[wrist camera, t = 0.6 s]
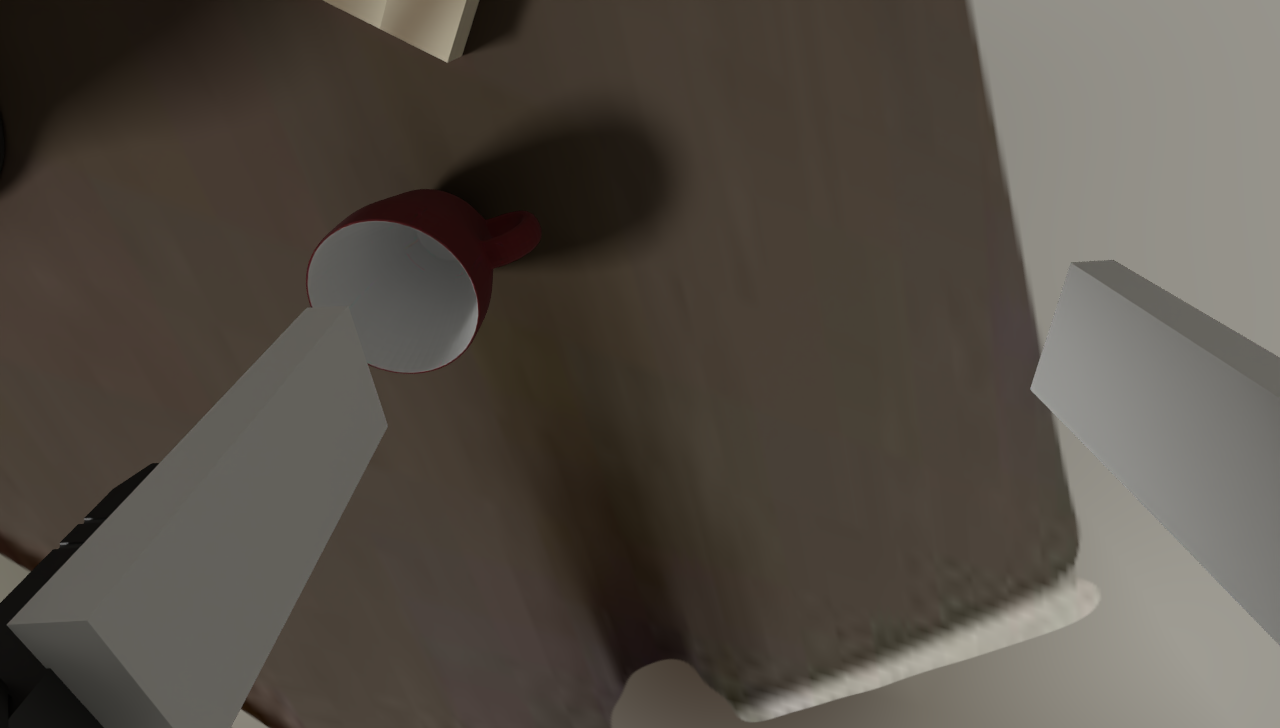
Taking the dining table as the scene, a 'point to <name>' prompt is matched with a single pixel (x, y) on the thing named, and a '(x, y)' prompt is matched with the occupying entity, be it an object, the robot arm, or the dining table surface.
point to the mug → (416, 275)
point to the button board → (419, 22)
